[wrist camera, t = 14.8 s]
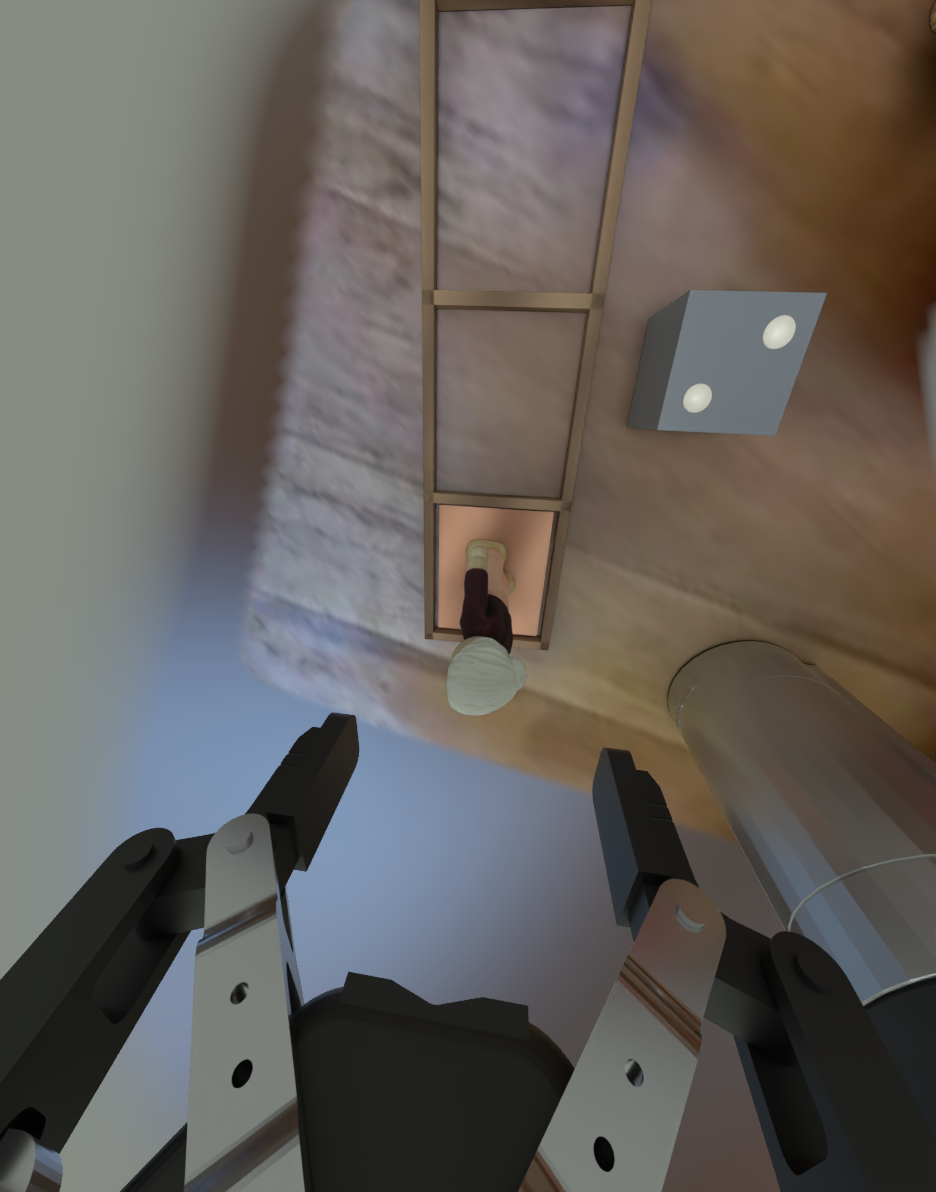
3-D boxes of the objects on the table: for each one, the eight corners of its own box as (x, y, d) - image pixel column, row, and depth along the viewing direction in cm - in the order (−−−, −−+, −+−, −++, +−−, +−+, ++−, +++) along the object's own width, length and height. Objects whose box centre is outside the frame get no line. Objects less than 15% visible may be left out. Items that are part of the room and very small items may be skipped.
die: (752, 321, 19) (829, 291, 14) (719, 431, 21) (777, 435, 16) (648, 319, 19) (691, 288, 15) (626, 426, 21) (658, 430, 17)
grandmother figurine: (441, 538, 25) (383, 640, 14) (494, 514, 24) (479, 602, 13) (490, 631, 28) (474, 781, 16) (539, 613, 27) (560, 760, 15)
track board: (651, -21, 15) (658, -43, 14) (547, 644, 28) (548, 650, 27) (423, -12, 15) (419, -33, 15) (427, 633, 29) (425, 638, 28)
